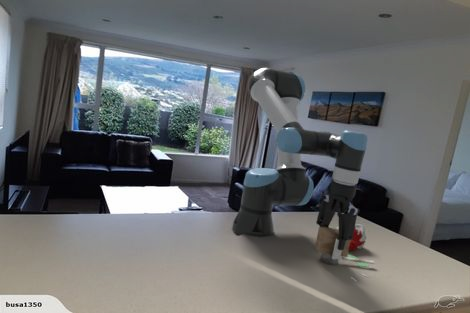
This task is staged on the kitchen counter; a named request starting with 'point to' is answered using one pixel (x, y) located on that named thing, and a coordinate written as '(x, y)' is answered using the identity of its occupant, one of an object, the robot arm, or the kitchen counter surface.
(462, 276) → the kitchen counter surface
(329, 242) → the knob
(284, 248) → the kitchen counter surface
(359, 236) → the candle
